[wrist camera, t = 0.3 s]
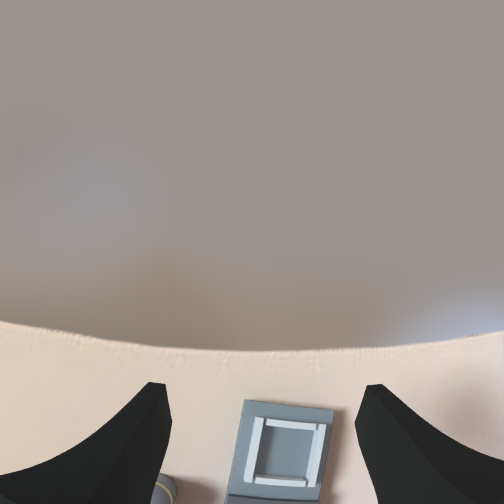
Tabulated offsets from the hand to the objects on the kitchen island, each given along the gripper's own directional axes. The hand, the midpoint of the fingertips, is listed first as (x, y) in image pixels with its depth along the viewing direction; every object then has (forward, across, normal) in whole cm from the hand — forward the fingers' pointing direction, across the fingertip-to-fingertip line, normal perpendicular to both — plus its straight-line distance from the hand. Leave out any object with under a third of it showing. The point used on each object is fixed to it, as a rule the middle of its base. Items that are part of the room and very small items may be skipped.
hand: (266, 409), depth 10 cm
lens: (+12, +11, +29) cm, 33 cm away
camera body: (+16, -3, +26) cm, 31 cm away
